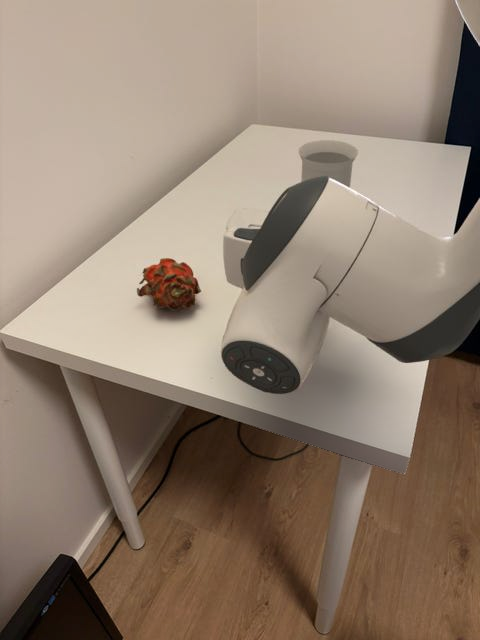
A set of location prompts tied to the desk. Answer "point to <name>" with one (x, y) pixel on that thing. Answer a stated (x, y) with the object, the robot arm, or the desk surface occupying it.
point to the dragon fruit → (170, 285)
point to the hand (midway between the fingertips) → (324, 211)
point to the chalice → (328, 160)
